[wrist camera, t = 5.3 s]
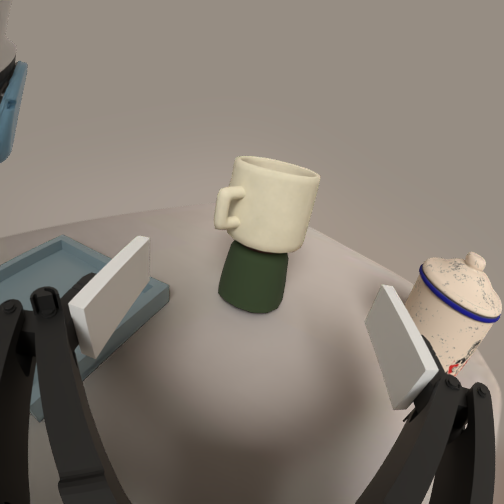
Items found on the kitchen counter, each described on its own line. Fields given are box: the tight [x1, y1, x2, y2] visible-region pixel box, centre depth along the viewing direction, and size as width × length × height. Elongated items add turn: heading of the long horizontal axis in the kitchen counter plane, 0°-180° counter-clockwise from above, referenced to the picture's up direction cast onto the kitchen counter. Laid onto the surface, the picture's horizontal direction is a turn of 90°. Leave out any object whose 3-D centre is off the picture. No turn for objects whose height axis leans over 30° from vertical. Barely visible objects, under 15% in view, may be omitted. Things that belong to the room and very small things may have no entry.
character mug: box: [214, 156, 320, 313], centre depth 25 cm, size 11×7×13 cm, turn 132°
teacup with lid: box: [404, 252, 502, 377], centre depth 21 cm, size 12×9×12 cm
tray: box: [0, 235, 169, 422], centre depth 19 cm, size 16×16×2 cm
